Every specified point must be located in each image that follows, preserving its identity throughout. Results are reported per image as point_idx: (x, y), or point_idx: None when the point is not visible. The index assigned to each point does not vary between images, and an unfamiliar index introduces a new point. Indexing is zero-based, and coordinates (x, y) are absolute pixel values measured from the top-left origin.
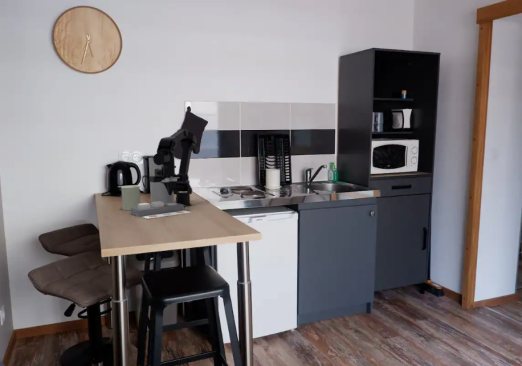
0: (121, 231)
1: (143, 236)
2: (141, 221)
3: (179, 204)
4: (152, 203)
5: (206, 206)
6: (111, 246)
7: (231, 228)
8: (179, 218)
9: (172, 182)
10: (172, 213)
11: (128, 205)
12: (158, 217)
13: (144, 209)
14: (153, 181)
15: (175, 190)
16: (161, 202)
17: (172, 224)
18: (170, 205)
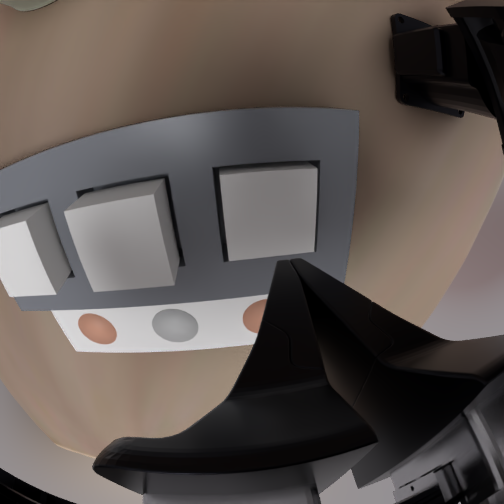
0: (40, 406)
1: (93, 443)
2: (60, 363)
3: (328, 258)
4: (76, 234)
5: (471, 214)
6: (57, 442)
7: None
8: (206, 395)
9: (362, 468)
10: (213, 321)
11: (2, 3)
12: (123, 350)
13: (40, 297)
14: (21, 492)
15: (485, 52)
16: (151, 287)
17: (160, 428)
18: (247, 253)
